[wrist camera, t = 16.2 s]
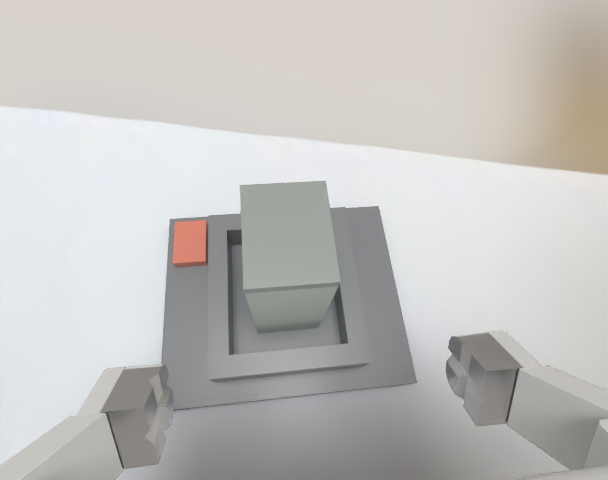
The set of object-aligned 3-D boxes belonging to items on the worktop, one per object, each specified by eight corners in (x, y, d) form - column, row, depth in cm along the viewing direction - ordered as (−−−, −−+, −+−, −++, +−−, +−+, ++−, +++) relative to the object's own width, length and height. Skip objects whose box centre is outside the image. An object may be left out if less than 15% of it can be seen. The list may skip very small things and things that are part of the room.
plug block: (310, 258, 26) (325, 180, 17) (318, 328, 24) (340, 281, 15) (254, 262, 25) (240, 185, 16) (258, 333, 23) (243, 289, 14)
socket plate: (375, 212, 29) (387, 188, 26) (411, 383, 24) (431, 380, 20) (173, 225, 27) (159, 201, 24) (163, 411, 22) (143, 412, 19)
